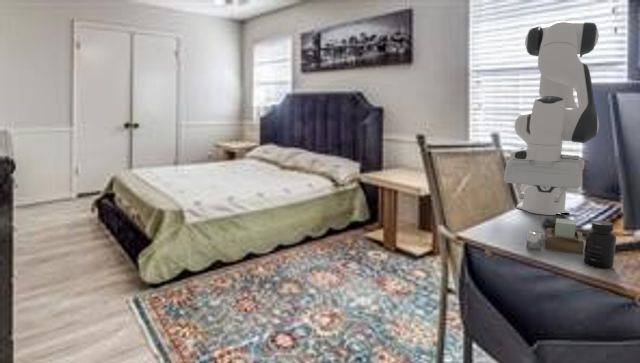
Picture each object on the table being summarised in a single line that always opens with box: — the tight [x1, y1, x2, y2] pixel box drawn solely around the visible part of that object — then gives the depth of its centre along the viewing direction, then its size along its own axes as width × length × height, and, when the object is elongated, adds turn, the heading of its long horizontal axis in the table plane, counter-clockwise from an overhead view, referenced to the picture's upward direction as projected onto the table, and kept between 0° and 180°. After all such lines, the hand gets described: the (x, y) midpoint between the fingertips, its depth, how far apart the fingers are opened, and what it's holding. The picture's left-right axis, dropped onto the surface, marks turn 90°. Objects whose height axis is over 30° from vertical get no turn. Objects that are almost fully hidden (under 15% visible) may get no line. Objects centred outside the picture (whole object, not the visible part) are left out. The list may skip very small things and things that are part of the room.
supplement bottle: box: [583, 219, 617, 270], centre depth 118 cm, size 7×7×12 cm
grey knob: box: [525, 230, 543, 252], centre depth 132 cm, size 4×4×5 cm
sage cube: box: [554, 217, 577, 238], centre depth 133 cm, size 5×5×5 cm
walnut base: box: [544, 227, 585, 255], centre depth 133 cm, size 10×10×4 cm
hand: (538, 200), depth 129 cm, fingers open, 8 cm apart
